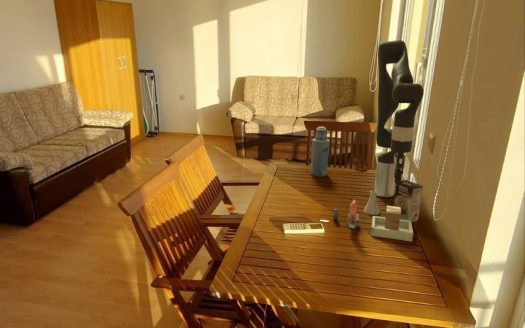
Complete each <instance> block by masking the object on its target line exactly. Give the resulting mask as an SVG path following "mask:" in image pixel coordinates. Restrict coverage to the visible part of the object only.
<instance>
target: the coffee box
mask: <svg viewBox="0 0 525 328" xmlns="http://www.w3.org/2000/svg"><path fill="white" fill-rule="evenodd" d="M423 188H424V186H423V185H421V184H418V183H417V182H413V181H410V180H408V179H401V184H395V188H394V199H393V206H394V207H400V208H401V214H400V220H408V221H411V223H414V221H415V222H418V221H417V220H419V213H420V208H421V203H422V202H421V199H422V195H423Z"/></svg>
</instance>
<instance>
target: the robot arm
mask: <svg viewBox="0 0 525 328" xmlns="http://www.w3.org/2000/svg"><path fill="white" fill-rule="evenodd" d="M377 49H378V50H377V61H378V88H377V90H378V91H377V92H378V93H377V124H376V125H377V126H376V137H375V139H376V140H375V141H376V143H375V144H376V146H377V147H380V148H386V149H390V151H387V152H383V153H380V154H378V155H377V160H376V162H377V163H376V171H375V180H374V191H377V195H376V197H377V196H378V197H381V198H390V197H393V196H394V193H395V185H396V184H401V181H402V178H403V177H402V175H403V174H404V168H405V163H406V160H407V157H406V154H407V153H410V152H412V151H413V143H414V133H415V132H414V131H415V121H416V114H417V112H418V109H419V106H420V104H421V102H422V101H423V98H424V95H425V94H424V93H425V90H424V87H423V86H422V84H420V83H414V77H413V75H412V74H413V73H412V71H411V69H410V63H409V62H410V61H409V54H408V48H407V45H406V42H405V41H404V40H402V39H399V40H389V41H382V42H380V43H379V45H378V48H377ZM391 64H395V65H394V66H393V67H392V69H391V74H389V71H388V69H387V65H391ZM390 75H391V76H390ZM400 104H409V105H408V106H407V107H405V108H403V109H398V108H399V105H400ZM397 109H398V110H397ZM392 115H394V118H393V127H392V128H386V127H385V126H386V124H387V122H388V120H389V119H390V118H391V117H392ZM405 153H406V154H405Z"/></svg>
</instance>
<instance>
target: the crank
mask: <svg viewBox="0 0 525 328" xmlns="http://www.w3.org/2000/svg"><path fill="white" fill-rule="evenodd" d="M347 220H348V221H349V227H348V229H349V228H350V229H356V228H355V224H356V222H359V223H360V214H358V203H356V199H352V202H350V205H349V213H348V214H347Z"/></svg>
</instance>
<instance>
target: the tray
mask: <svg viewBox="0 0 525 328" xmlns="http://www.w3.org/2000/svg"><path fill="white" fill-rule="evenodd" d="M385 219H386V216H385V217H384V216H378V215H372V218H371V220H372V221H371V232H370V236H372V237H379V238H385V239H392V240H399V241H400V240H401V241H407V242H413V238H414V230H413V225H412V222H411V221H408V220H400V222H399V230H392V229H385Z"/></svg>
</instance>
